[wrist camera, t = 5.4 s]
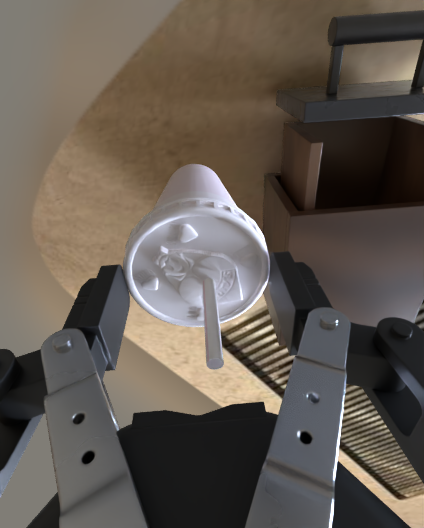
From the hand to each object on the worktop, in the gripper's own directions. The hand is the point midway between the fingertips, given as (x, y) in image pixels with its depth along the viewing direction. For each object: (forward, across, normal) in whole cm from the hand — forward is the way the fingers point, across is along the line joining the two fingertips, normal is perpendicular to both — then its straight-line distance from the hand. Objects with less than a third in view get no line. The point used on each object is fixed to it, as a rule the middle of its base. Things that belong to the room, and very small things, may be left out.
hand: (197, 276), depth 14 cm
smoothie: (+10, 0, 0) cm, 10 cm away
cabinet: (+19, -13, +9) cm, 25 cm away
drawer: (+18, -13, -1) cm, 22 cm away
